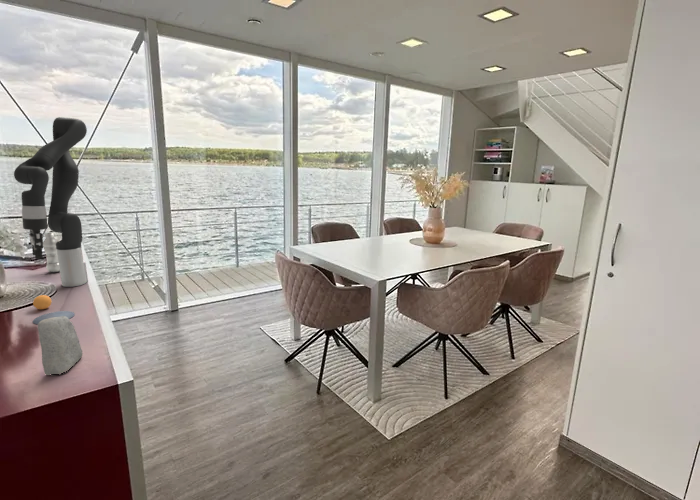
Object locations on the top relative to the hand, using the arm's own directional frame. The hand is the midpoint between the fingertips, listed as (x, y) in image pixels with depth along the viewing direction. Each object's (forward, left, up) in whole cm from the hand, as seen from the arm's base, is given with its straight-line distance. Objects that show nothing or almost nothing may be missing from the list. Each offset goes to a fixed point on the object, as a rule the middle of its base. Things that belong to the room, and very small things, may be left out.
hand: (37, 256), depth 152 cm
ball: (+11, +11, -15) cm, 21 cm away
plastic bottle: (-33, -28, -18) cm, 46 cm away
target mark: (+17, +22, -18) cm, 33 cm away
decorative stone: (+45, +54, -18) cm, 73 cm away
